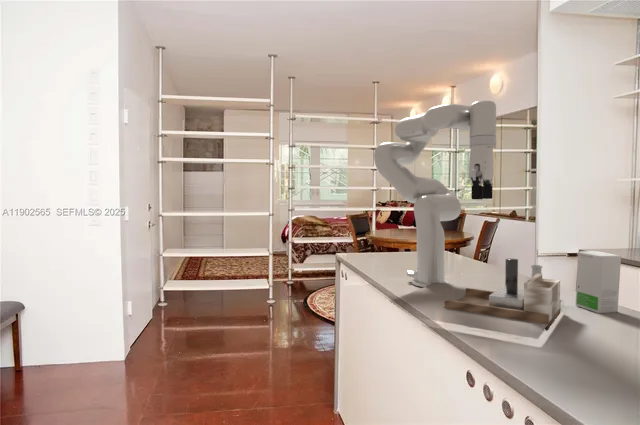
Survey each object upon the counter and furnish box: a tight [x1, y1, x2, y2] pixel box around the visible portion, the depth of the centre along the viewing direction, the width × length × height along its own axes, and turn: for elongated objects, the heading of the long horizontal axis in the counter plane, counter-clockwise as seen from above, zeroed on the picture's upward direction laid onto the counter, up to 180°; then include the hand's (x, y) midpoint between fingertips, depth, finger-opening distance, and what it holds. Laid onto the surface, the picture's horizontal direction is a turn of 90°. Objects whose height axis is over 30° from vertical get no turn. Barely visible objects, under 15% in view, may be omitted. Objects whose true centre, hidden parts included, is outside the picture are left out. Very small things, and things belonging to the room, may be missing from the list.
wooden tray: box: [444, 273, 562, 331], centre depth 116 cm, size 25×18×10 cm
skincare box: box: [575, 250, 622, 314], centre depth 119 cm, size 8×7×16 cm
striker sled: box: [489, 257, 524, 311], centre depth 115 cm, size 8×12×13 cm, turn 143°
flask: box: [530, 264, 543, 279], centre depth 132 cm, size 7×7×10 cm
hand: (482, 199), depth 133 cm, fingers open, 9 cm apart
